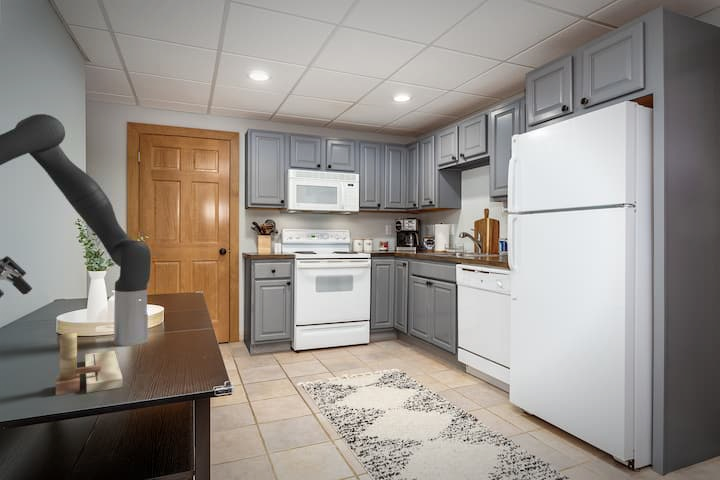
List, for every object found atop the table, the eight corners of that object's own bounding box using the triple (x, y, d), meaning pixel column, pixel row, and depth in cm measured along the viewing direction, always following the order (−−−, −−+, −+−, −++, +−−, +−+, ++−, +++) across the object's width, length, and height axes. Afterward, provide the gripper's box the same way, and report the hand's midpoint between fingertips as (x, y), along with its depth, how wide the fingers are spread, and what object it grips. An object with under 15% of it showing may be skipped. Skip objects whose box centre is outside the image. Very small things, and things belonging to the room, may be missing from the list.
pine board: (114, 357, 119) (114, 350, 119) (122, 387, 97) (122, 378, 97) (85, 361, 115) (85, 354, 115) (86, 392, 93) (86, 383, 93)
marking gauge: (99, 379, 102) (100, 328, 101) (101, 387, 97) (101, 334, 96) (56, 386, 97) (57, 333, 97) (55, 395, 92) (56, 338, 92)
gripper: (-55, 231, 86) (2, 287, 87) (-1, 231, 101) (48, 279, 102) (-83, 255, 86) (-25, 312, 87) (-25, 252, 100) (25, 300, 101)
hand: (14, 294), depth 94 cm, fingers open, 8 cm apart
